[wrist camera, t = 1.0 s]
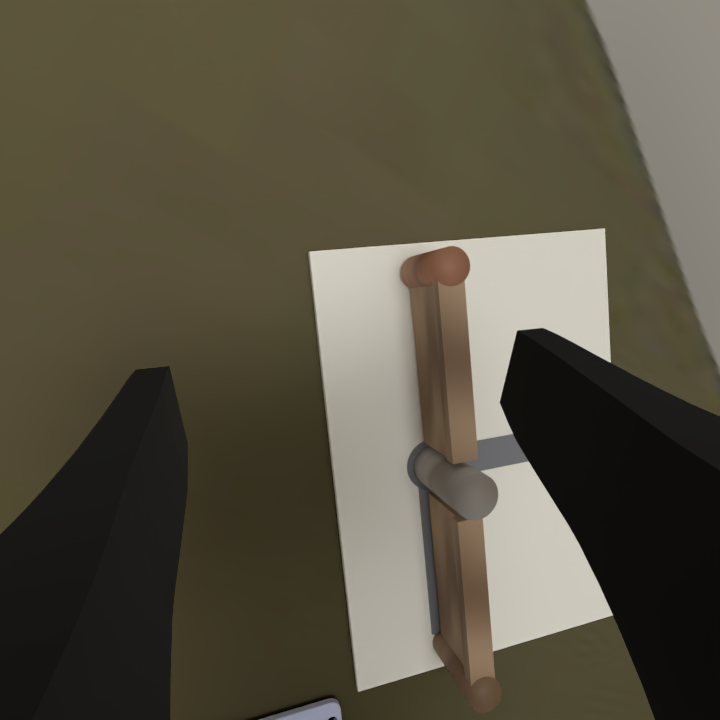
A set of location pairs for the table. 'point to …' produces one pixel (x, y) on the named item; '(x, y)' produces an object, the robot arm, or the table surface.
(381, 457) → the card
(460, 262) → the brown wooden bar
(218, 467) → the table surface
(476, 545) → the fixed fence section
